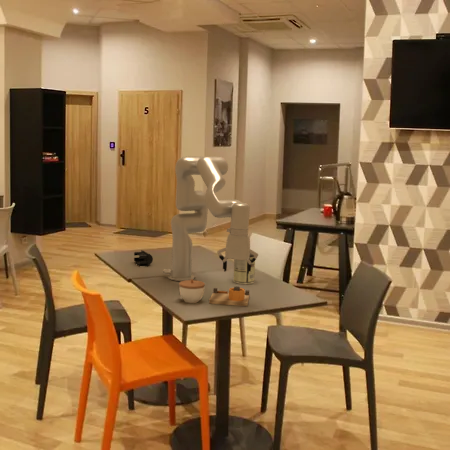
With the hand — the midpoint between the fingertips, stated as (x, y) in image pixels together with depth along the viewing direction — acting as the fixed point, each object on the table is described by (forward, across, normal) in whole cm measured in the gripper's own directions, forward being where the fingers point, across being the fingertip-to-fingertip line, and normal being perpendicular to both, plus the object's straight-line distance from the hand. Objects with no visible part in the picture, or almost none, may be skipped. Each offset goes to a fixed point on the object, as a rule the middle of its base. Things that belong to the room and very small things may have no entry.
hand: (236, 271), depth 269 cm
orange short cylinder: (+11, +1, -1) cm, 11 cm away
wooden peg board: (+13, -2, +1) cm, 13 cm away
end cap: (+16, -54, +59) cm, 82 cm away
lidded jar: (+14, -18, -4) cm, 23 cm away
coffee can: (+14, +1, +36) cm, 39 cm away
